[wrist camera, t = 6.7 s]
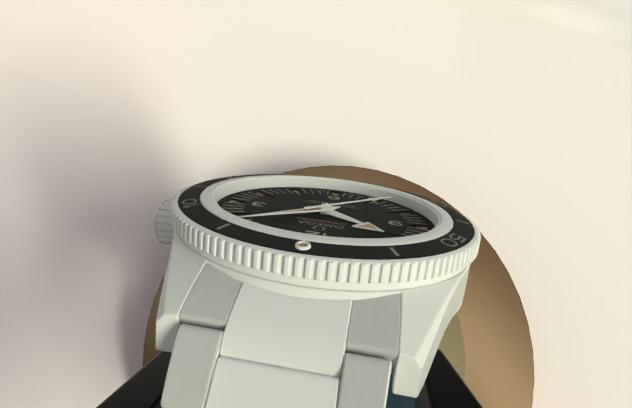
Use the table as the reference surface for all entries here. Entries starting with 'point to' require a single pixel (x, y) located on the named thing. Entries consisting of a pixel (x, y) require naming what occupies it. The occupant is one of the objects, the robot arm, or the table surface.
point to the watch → (306, 292)
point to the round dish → (456, 314)
